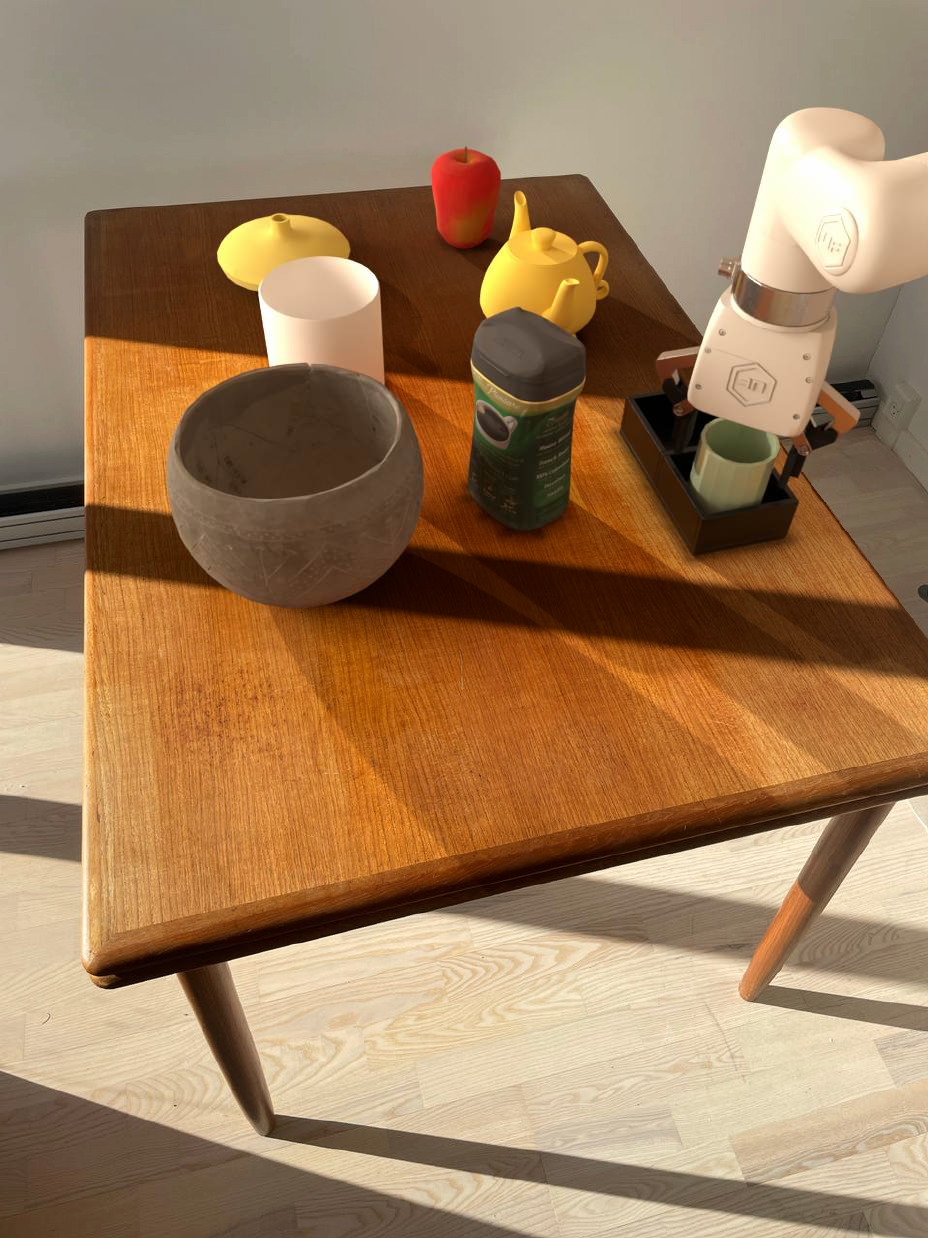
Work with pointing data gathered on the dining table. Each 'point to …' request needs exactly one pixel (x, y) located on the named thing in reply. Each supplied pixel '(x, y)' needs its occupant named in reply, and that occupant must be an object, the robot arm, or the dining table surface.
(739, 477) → the sage cup
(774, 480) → the black divided tray
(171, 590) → the dining table surface
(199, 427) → the bowl
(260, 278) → the vase
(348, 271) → the cup
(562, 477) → the coffee jar
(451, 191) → the apple
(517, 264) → the teapot
